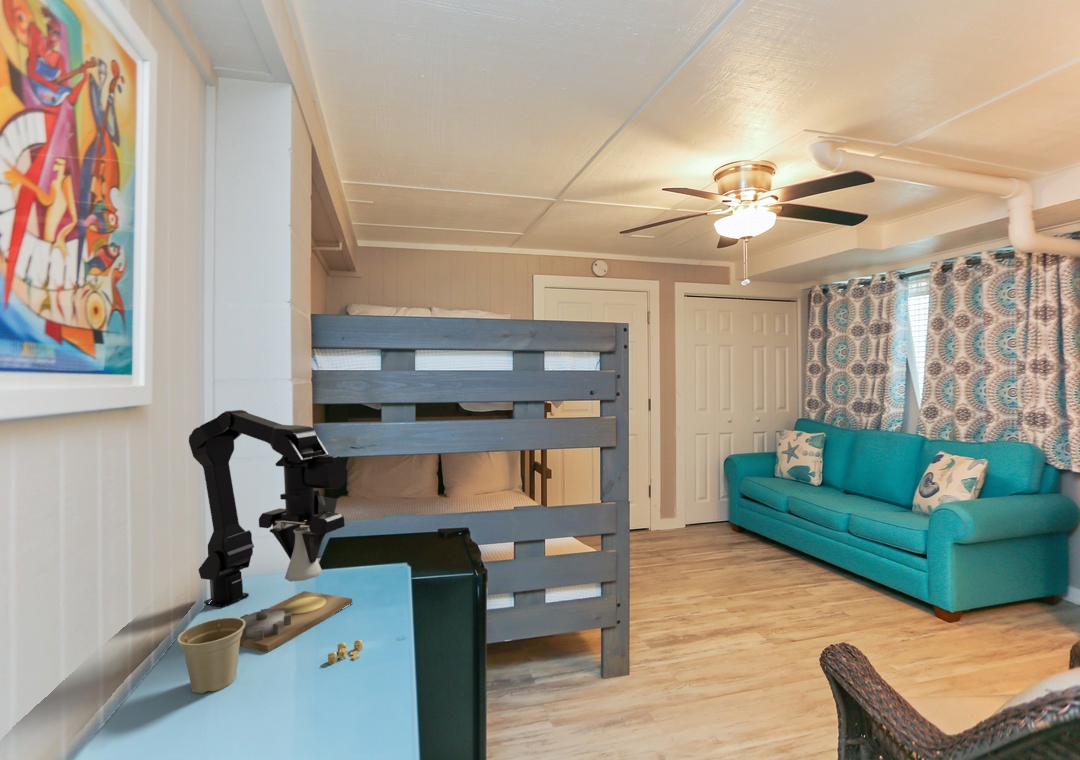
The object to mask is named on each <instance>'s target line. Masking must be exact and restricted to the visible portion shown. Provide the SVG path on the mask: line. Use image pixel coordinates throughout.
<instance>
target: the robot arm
mask: <svg viewBox="0 0 1080 760" xmlns="http://www.w3.org/2000/svg"><path fill="white" fill-rule="evenodd" d="M242 435H245V436H247V437H250V438H253V439H256V440H259V441H261V442H265V443H266V444H268V445H270V447H271V449H272V450H273V451H275V452H276V453H278V454H279V455H281V457H280V459H279V460H277V461H276V462H275V466H276V467H283V477H284V478H283V479H284V480H283V481H284V482H283V483H284V493H280V494H279V495H280V500H285V501H284V502H285V503H284V504H285V508H276V509H272V510H269V511H266V512H263V513H261V514H260V516H259V518H258V528H264V529H269V533H272V534H273V535H274V537H275V539H276V540H277V542H278V543H279V544H280V546H281V547H282V548H283V551H284V552H285V553H286V555H287V557H288V559H289V560H291V557H292V553H293V550H294V545H295V533H294V532H293V530H294V529H295V528H299V527H302V526H305V527H309V531H308V532H305V533H302V536H303V540H304V544H305V547H306V551H307V555H308V558H309V561H310V563H314V562H315V561H316V559H318V558H317V557H318V555H319V552H320V550H321V549H320V548H321V545H322V542H323V540H324V537H325V536H326V534H328V533H331V532H333V531H336V530H339V529H342V528H344V527H345V516H344V515H343V514H342V513H338V512H337V513H336V509H337V504H338V499H337V498H333V497H326V496H322V495H321V491H320V489H321V490H322V489H324V490H326V489H327V490H340V489H341V488H342V487H344V485H345V484H346V481H347V478H348V469H347V467H346V465H345V464H344V463H343V461H341V460H340V455H338V454H332V455H330V454H329V452H328V451H327V449H326V447H325V446H324V444H323V443H322V441H321V440H320V438H319V436H318V435H317V433H316V429H315V428H313V427H312V426H306V425H297V424H295V425H294V424H293V425H292V424H291V425H289V424H283V423H282V424H281V423H280V422H279V423H278V422H276V421H273V420H269V419H267V418H264V417H261V416H258V415H255V414H252V413H249V412H248V411H246V410H244V409H235V410H226V411H224V412H222V413H221V414H219V415H218V416H216V417H215V418H213V419H211V420H209V421H207V422H204V423H203V424H201V425H200V426H199V427H196V428H193V430H192V432H191V434H190V435H189V437H188V444H189V447H190V450H191V453H192V454H191V455H192V457H193V458H194V459H195V460H196V462H198V463H199V465H201V466H202V468H203V472H204V473H203V474H204V478H205V479H204V480H205V486H206V490H207V491H206V492H207V493H206V494H207V497H208V505H209V510H210V517H211V522H212V528H213V529H212V530H213V531H212V534H211V536H210V539H209V540H208V543H207V557H206V558H205V560H204V561H203V563H202V564H201V565H200V567H199V568H198V573H199V576H200V579H201V580H209V591H210V592H209V593H210V598H209V599H208V598H207V599H205V600H204V601H203V603H204V604H205V605H209V604H208V603H209V602H210V601H211V600H212V601H211V602H210V604H212V605H211V606H215V607H219V608H224V607H227V606H228V605H231V604H233V603H235V602H238V601H241V600H242V599H245V598H247V597H249V596H250V594H249V592H244V591H243V590H244V588H243V577H242V571H241V570H243V569H247V568H249V567H250V563H251V559H252V556H253V553H254V548H255V545H254V543H253V538H252V532H251V530H249V529H248V530H245V529H244V528H243V527H242V526H241V525H240V523H239V517H238V510H237V504H236V497H235V491H234V488H233V487H234V486H233V480H232V475H231V468H230V460H231V459H232V456H233V453H234V450H235V440H237V439H238V438H239V437H240V436H242ZM271 527H272V528H271Z"/></svg>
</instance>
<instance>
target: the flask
mask: <svg viewBox="0 0 1080 760" xmlns="http://www.w3.org/2000/svg"><path fill="white" fill-rule="evenodd" d="M308 531H309V526H300V527H299V528H295V529H294V530H293V532H294V533H295V545H294V550H293V553H292V557H291V560H290V559H289V560H290V561H289V564H288V567H287V570H286V573H285V576H284V580H287V581H288V582H301V581H307V580H310V579H313V578H316V577H320V576H321V573H323V570H322V568H321V564H320V563H319V561H318V558H316V561H315V562H314V563H310V561H309V558H308V555H307V551H306V547H305V544H304V540H303V536H302V533H305V532H308Z"/></svg>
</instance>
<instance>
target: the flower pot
mask: <svg viewBox="0 0 1080 760" xmlns="http://www.w3.org/2000/svg"><path fill="white" fill-rule="evenodd" d="M244 627H245V621H244V620H243V619H241V618H240V617H233V616H232V617H231V616H230V617H229V616H228V617H220V618H215V619H211V620H210V619H209V620H206V621H203V622H200V623H198V624H194V625H193V626H190V627H188V628H187V629H185V630H184V631H181V633H180V634H179V635H178V636H177V639H176V641H177V643H178V644H179V645H180V648H181V651H182V652H183V654H184V659H185V663H186V669H187V673H188V677H189V681H190V687H191V690H192V692H193V693H196V694H205V693H206V692H217V691H220V690H222V689H223V688H226V687H228V686H229V685H231V684H232V683H233V682H234V681H235V678H236V677H237V673H238V662H239V653H240V646H239V645H240V637H241V636H242V632H243V629H244Z"/></svg>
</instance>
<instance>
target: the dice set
mask: <svg viewBox="0 0 1080 760" xmlns="http://www.w3.org/2000/svg"><path fill="white" fill-rule="evenodd" d="M353 647H354V648H353V649H354V650H352V651H350V652H349V656H351V655H353V656H351V657H350V659H351V660H354V661H357V660H358V659H359V658H360V655H359V652H360V651H362V650H363V647H364V646H363V640H362V639H358V640H355V641H354V642H353ZM338 653H339V654H338ZM338 656H339V658H340V660H343V659H342V658H345V657H346V658H347V656H348V648H347V643H346V642H340V643H338V644H337V652H336V651H332V652H329V653H328V654H327V661H328V662H327V663H328V664H329V665H334V664H336V663H337V662H338ZM346 658H345V659H346ZM333 663H334V664H333Z"/></svg>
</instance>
